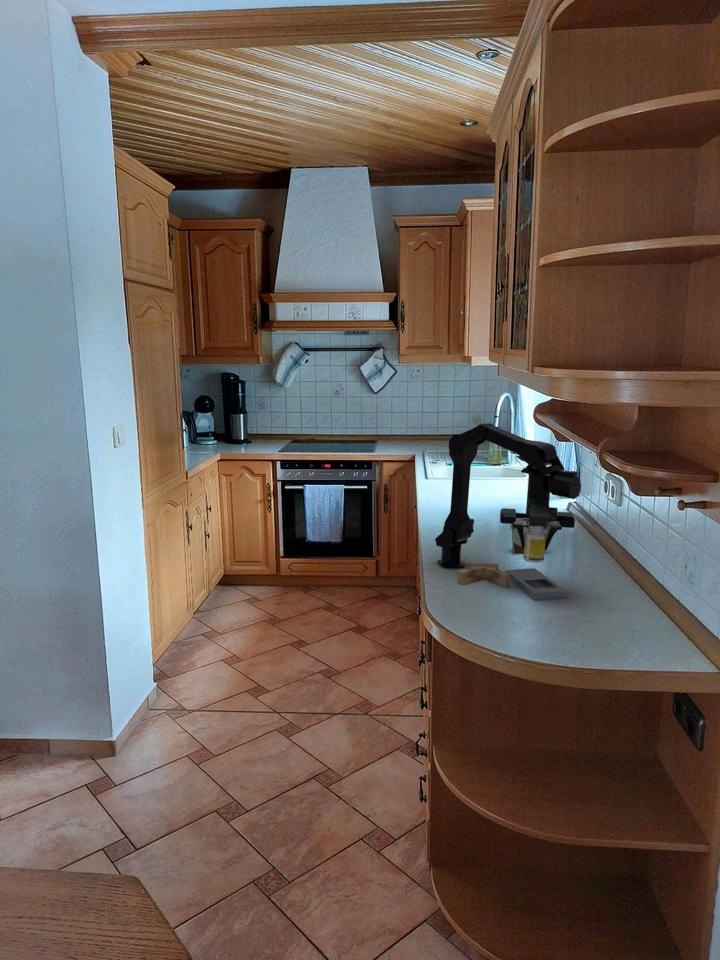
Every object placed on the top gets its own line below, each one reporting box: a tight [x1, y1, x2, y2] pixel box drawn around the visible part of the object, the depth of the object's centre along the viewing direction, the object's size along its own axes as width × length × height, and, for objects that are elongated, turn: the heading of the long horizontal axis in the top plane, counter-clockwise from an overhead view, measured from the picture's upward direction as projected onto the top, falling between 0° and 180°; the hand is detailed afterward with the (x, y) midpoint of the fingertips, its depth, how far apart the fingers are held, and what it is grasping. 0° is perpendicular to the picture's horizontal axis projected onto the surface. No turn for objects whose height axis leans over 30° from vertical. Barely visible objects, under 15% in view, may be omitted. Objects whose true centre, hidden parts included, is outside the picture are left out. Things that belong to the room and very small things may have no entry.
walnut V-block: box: [457, 561, 511, 589], centre depth 183 cm, size 10×14×4 cm
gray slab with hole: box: [504, 567, 567, 601], centre depth 178 cm, size 18×9×2 cm, turn 12°
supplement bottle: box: [522, 525, 546, 564], centre depth 174 cm, size 5×5×10 cm
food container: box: [509, 520, 548, 555], centre depth 209 cm, size 12×6×10 cm, turn 92°
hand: (534, 549), depth 174 cm, fingers closed on supplement bottle, 5 cm apart
